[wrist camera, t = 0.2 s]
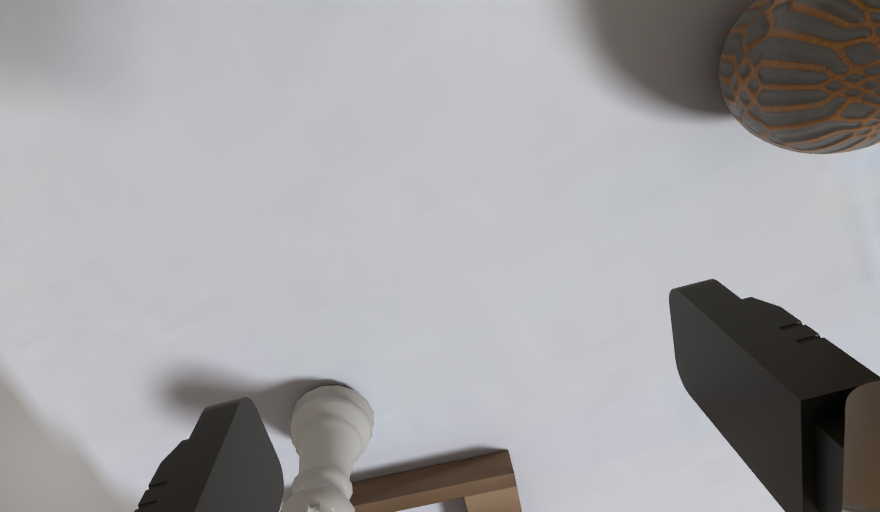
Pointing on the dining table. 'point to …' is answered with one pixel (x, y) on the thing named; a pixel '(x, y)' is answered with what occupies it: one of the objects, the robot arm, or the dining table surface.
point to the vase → (805, 73)
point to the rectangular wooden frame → (443, 486)
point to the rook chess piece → (327, 447)
